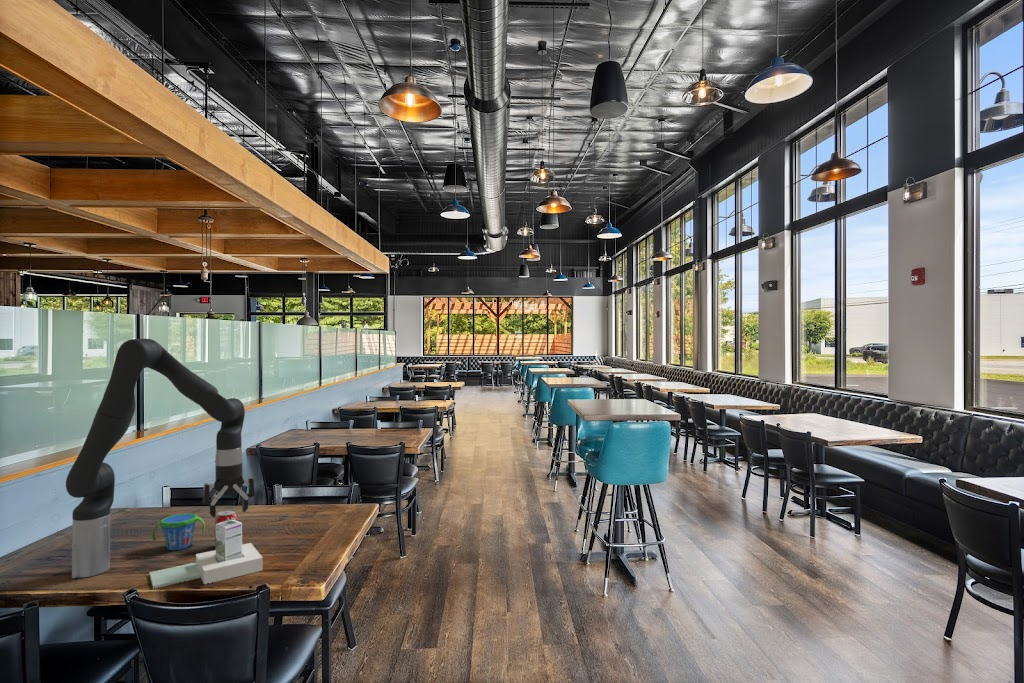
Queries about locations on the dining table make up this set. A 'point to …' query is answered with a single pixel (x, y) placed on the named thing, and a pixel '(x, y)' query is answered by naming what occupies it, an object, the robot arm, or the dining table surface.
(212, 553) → the pocket
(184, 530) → the snack cup
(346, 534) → the dining table surface
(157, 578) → the tile
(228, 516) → the soda can
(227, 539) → the syrup box
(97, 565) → the robot arm
